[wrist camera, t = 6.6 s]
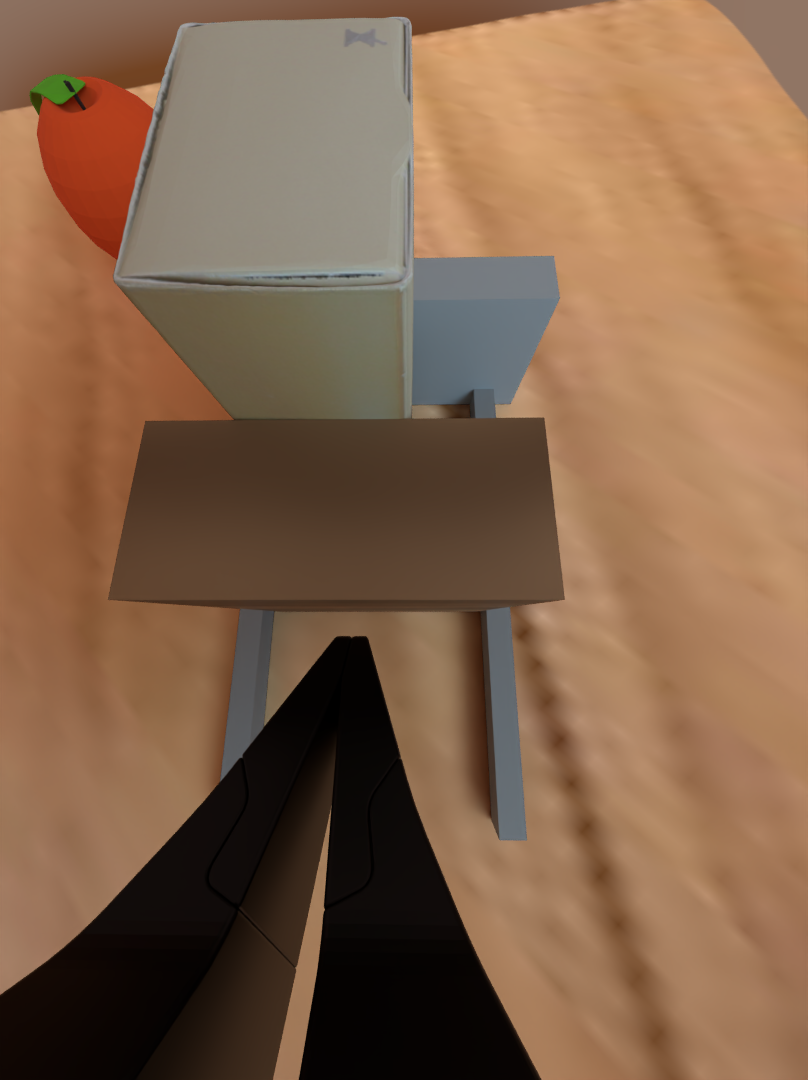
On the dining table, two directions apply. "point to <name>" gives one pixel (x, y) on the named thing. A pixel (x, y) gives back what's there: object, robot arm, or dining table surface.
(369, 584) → the walnut block
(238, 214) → the skincare box
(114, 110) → the red rounded fruit
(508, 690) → the backstop rail
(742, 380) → the dining table surface
